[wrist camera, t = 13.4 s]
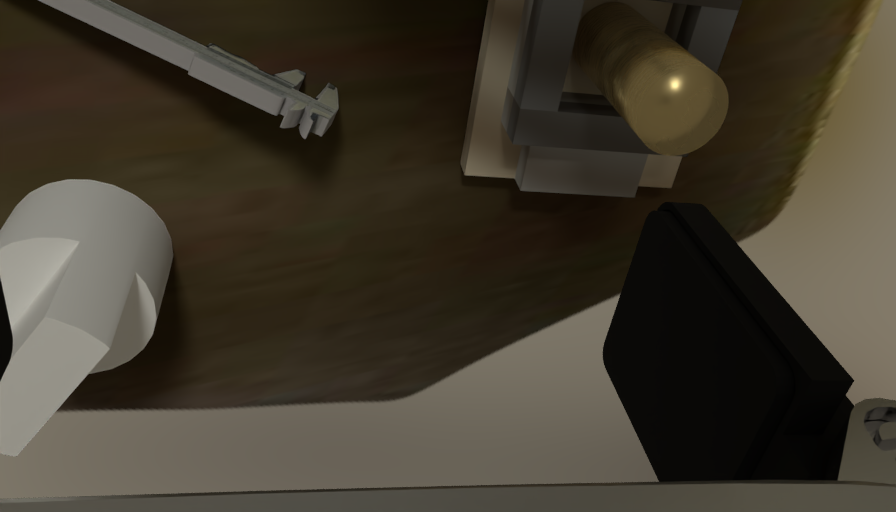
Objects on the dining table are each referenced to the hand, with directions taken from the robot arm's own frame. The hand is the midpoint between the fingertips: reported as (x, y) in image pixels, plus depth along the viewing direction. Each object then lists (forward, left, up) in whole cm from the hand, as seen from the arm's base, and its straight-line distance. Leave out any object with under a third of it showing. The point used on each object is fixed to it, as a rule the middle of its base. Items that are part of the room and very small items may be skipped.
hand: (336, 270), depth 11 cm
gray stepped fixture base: (+4, +16, -30) cm, 34 cm away
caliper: (+6, -8, -31) cm, 32 cm away
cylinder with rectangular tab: (+20, -12, -31) cm, 38 cm away
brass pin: (+4, +16, -29) cm, 33 cm away
